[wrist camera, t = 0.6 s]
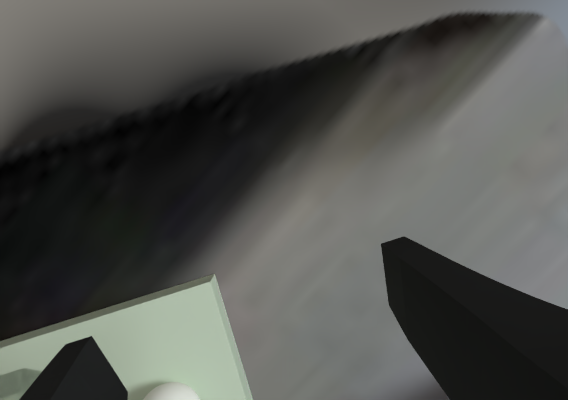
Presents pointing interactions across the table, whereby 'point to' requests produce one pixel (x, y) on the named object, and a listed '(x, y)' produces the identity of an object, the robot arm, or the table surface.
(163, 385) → the ball
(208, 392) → the putting board
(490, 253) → the table surface
